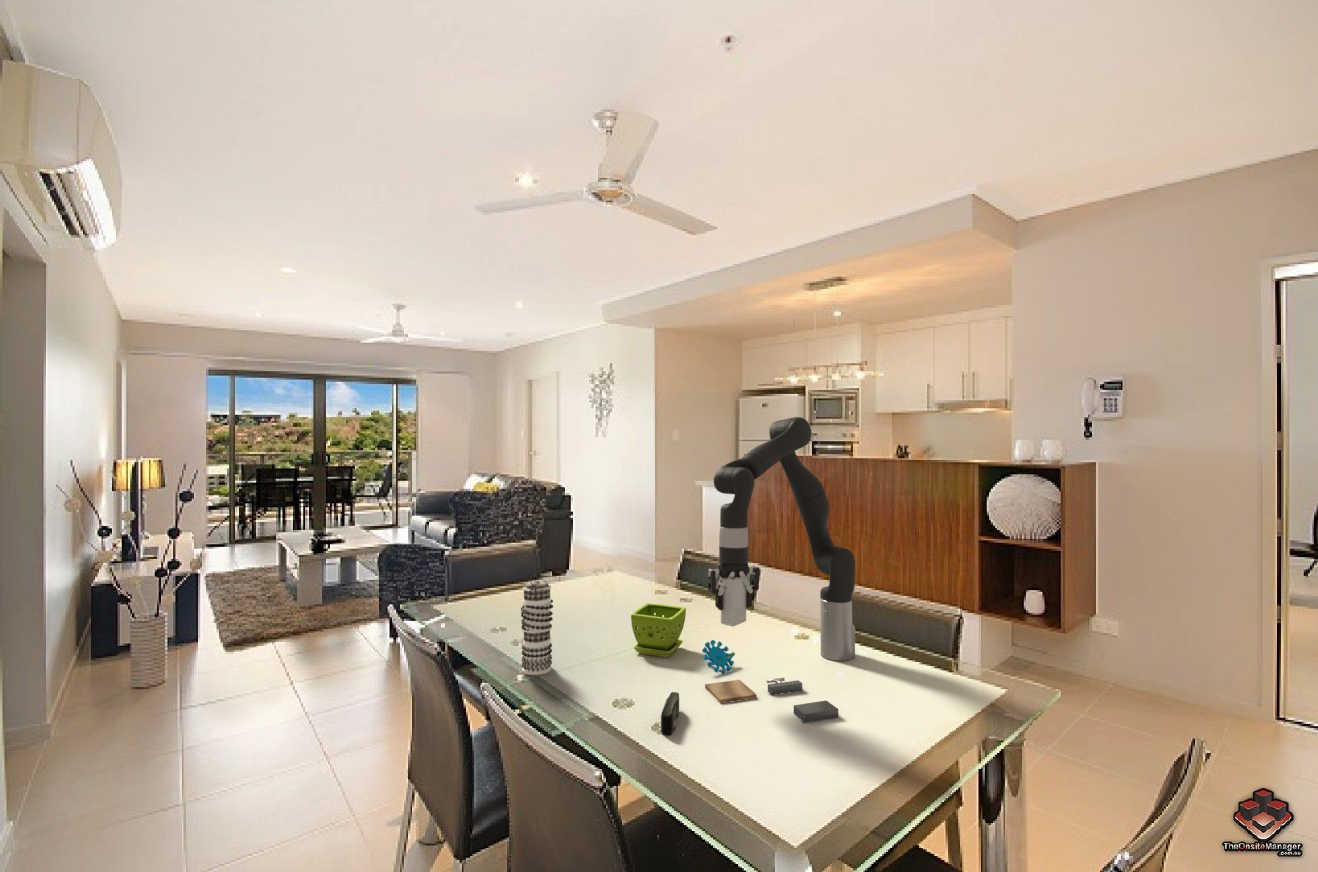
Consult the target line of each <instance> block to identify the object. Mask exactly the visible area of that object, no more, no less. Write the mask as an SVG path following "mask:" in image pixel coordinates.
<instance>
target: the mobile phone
mask: <svg viewBox="0 0 1318 872" xmlns="http://www.w3.org/2000/svg"><path fill="white" fill-rule="evenodd" d="M679 715H680V694H679V692H675V691H672V692H670V694H669V695H668V697H666V699H665V702H664V705H663V708H662V712H661V715H660V732H661V734H662V735H664V736H672V735H673V731H674V728H675V724H676V721H677V720H678V718H679Z"/></svg>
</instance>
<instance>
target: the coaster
mask: <svg viewBox="0 0 1318 872" xmlns="http://www.w3.org/2000/svg"><path fill="white" fill-rule="evenodd" d="M704 687H705V690H706V691H707V692H708V691H709V692H710V693H711V694H712V695H713V696H714V697H715V698H716V699H717V700H718V701H717V700H716V699H715V698H714V697H713V696H712V695H711V694H710V695H711V696H712V697H713V698H714V699H715V700H716V701H717V702H718V703H719V702H720V703H721V704H724V703H723V702H728V703H732V702H731V701H735V702H739V701H738V700H742V701H746V700H745V699H749V700H752V699H751V698H756V699H757V697H758V696H757V693H756V692H754V691H753V690H752V689H751V688H750V687H748V686H747V685H746V684H745V682H743V681H742V680H741V679H735V680H734V679H733V680H728V681H727V680H725V681H718V682H712V683H705V684H704ZM709 692H708V693H709ZM720 703H719V704H720Z"/></svg>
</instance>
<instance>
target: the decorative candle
mask: <svg viewBox="0 0 1318 872" xmlns="http://www.w3.org/2000/svg"><path fill="white" fill-rule="evenodd" d="M551 588H552V586H551V585H549V583H548V582H547V580H542V579H541V580H540V579H535V580H531V581H530V580H529V581H528V582H526V583H525V585H524V586H523V587H522V590H523V598H522V606H521V607H520V617H521V618H522V619H521V631H522V632H523V638H522V645H521V649H522V650H521V655H522V657H521V672H522V673H523V674H525V675H528V676H529V675H530V676H537V675H543V674H547V673H549V672H550V671H552V665H553V663H552V662H553V661H552V659H553V657H552V652H553V650H552V647H553V644H552V637H551V629H552V628H553V625H552V624H553V623H550V622H551V621H553V620H554V619H553V617H552V616H553V614H554V613H553V611H551V609H553V608H554V605H553V604H552V603H554V600H553V599H551V598H552V597H551Z"/></svg>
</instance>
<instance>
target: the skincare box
mask: <svg viewBox="0 0 1318 872" xmlns="http://www.w3.org/2000/svg"><path fill="white" fill-rule="evenodd" d="M747 576H748V575H747ZM747 576H746V578H747ZM725 580H726V578H725V579H724V578H723V577H722V579H721V583H724V581H725ZM726 584H727V583H726ZM722 596H723V610H720V624H721V625H724V626H727V627H736V626H739V625H741V624H743V623H745V622H747V607H746V587H745V585H744V583H743V581H742V578H741V577H733V578H729V579H728V587H727V588H726V589H725V590H724V592H723V594H722Z"/></svg>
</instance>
